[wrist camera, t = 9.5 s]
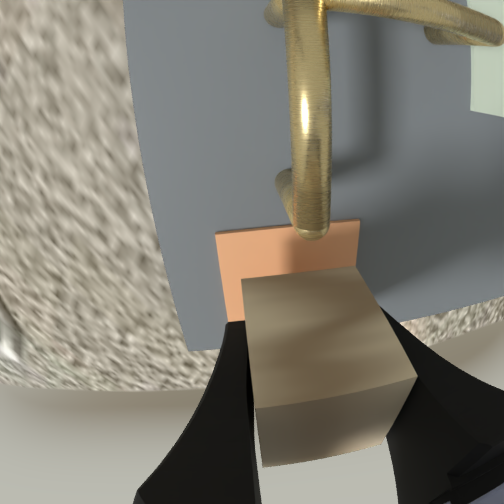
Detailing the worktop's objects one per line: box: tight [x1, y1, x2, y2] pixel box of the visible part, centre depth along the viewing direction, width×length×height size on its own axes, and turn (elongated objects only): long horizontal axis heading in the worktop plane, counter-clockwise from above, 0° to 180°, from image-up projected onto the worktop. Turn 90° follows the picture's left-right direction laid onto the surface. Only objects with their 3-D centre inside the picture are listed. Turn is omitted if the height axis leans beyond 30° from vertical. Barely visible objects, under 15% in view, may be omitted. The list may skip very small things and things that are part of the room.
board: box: [123, 0, 504, 351], centre depth 11 cm, size 20×18×1 cm
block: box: [241, 266, 418, 467], centre depth 10 cm, size 4×4×5 cm
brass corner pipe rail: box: [264, 0, 504, 241], centre depth 8 cm, size 7×7×4 cm
